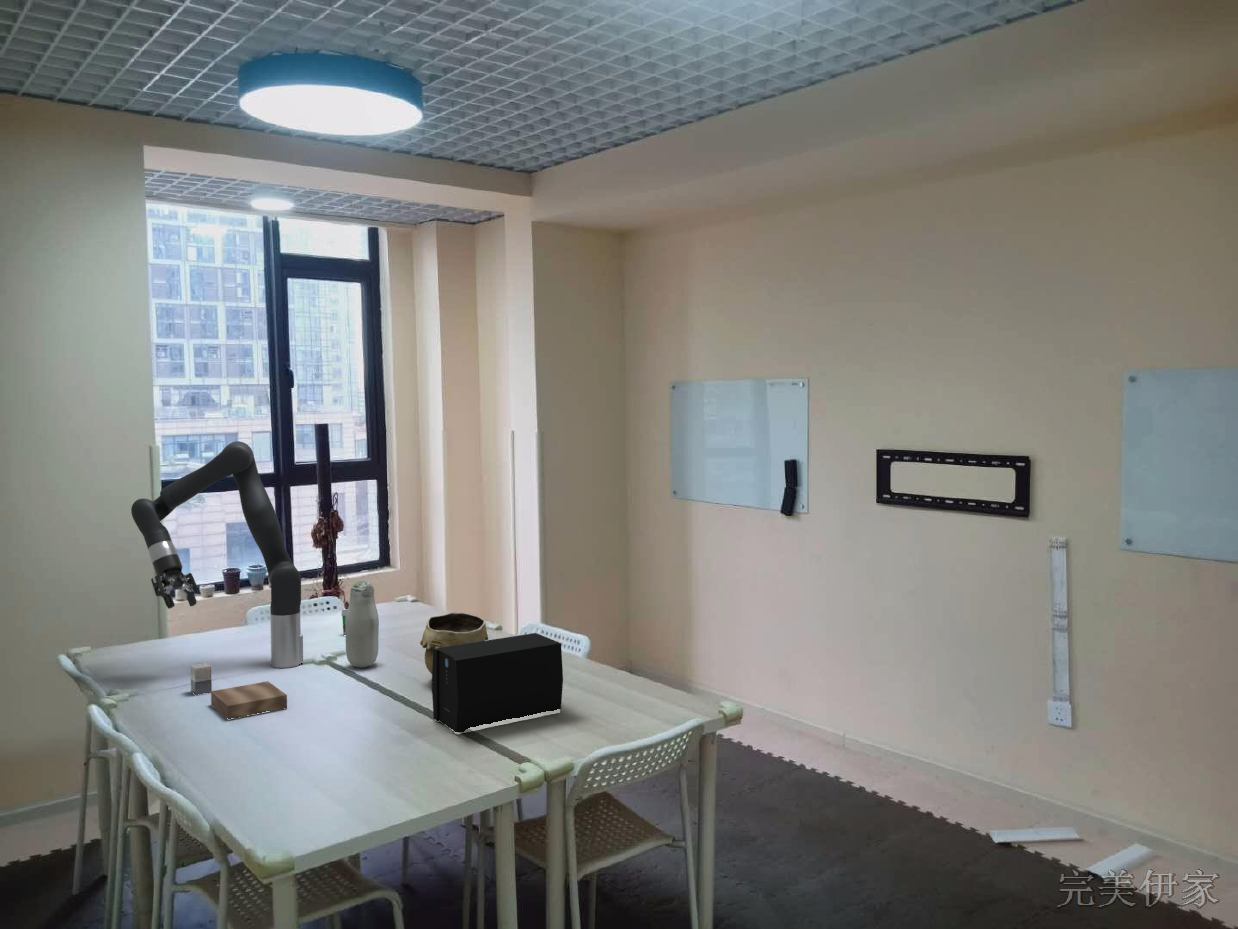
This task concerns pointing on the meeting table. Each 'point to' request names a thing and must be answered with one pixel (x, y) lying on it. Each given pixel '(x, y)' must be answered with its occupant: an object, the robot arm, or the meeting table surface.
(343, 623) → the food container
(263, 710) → the walnut stand
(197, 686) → the block
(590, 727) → the meeting table surface
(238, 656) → the meeting table surface
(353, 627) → the grey bottle
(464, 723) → the uninterruptible power supply
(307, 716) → the meeting table surface
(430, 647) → the clay pot
